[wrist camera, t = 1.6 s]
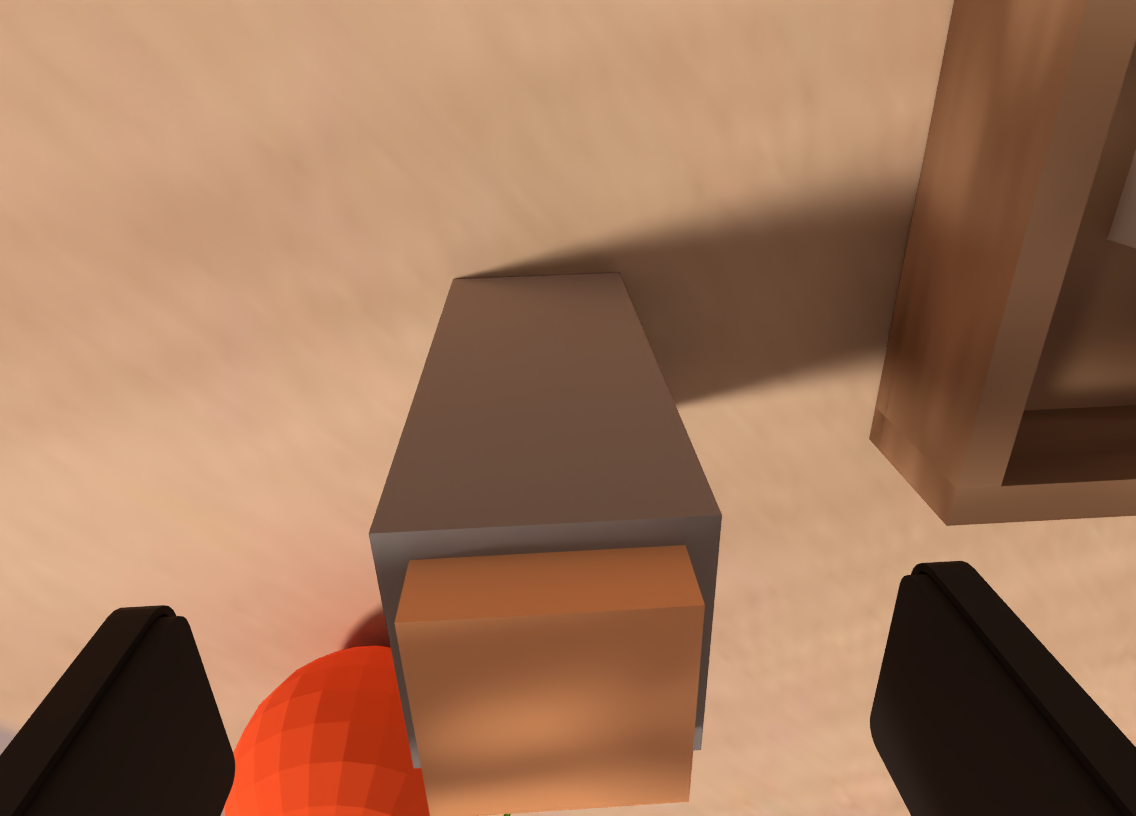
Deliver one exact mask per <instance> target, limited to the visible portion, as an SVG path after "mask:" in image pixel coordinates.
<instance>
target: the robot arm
mask: <svg viewBox="0 0 1136 816" xmlns="http://www.w3.org/2000/svg"><path fill="white" fill-rule="evenodd" d="M870 729H871V734H872V738H873V741H874V744H875V746H876V748H877V750H878V752H879V754H880V756H881V758H882V760H883V762H884V764H885V766H886V768H887V770H888V772H889V774H890V775H891V777H892V779H893V781H894V783H895V785H896V787H897V789H898V791H899V793H900V795H901V797H902V799H903V801H904V803H905V804H906V806H907V808H908V810H909V812H910V814H911V816H1136V747H1135V746H1134V745H1133V744H1132V743H1131V741H1130V740H1129V739H1128V738H1127V737H1126V736H1125V735H1124V734H1123V733H1122V731H1121V730H1120V729H1119V728H1118V727H1117V726H1116V725H1115V724H1114V723H1113V722H1112V720H1111V719H1110V718H1109V717H1108V716H1107V715H1106V714H1105V713H1104V712H1103V710H1102V709H1101V708H1100V707H1099V706H1098V705H1097V704H1096V703H1095V702H1094V701H1093V699H1092V698H1091V697H1090V696H1089V695H1088V694H1087V693H1086V692H1085V691H1084V689H1083V688H1082V687H1081V686H1080V685H1079V684H1078V683H1077V682H1076V681H1075V680H1074V678H1073V677H1072V676H1071V675H1070V674H1069V673H1068V672H1067V671H1066V670H1065V668H1064V667H1063V666H1062V665H1061V664H1060V663H1059V662H1058V661H1057V660H1056V659H1055V657H1054V656H1053V655H1052V654H1051V653H1050V652H1049V651H1048V650H1047V649H1046V647H1045V646H1044V645H1043V644H1042V643H1041V642H1040V641H1039V640H1038V639H1037V638H1036V636H1035V635H1034V634H1033V633H1032V632H1031V631H1030V630H1029V629H1028V628H1027V626H1026V625H1025V624H1024V623H1023V622H1022V621H1021V620H1020V619H1019V618H1018V617H1017V615H1016V614H1015V613H1014V612H1013V611H1012V610H1011V609H1010V608H1009V607H1008V605H1007V604H1006V603H1005V602H1004V601H1003V600H1002V599H1001V598H1000V597H999V596H998V594H997V593H996V592H995V591H994V590H993V589H992V588H991V587H990V586H989V584H988V583H987V582H986V581H985V580H984V579H983V578H982V577H981V576H980V575H979V573H978V572H977V571H976V570H975V569H974V568H973V567H972V566H971V565H969V564H968V563H966V562H963V561H951V562H933V563H921V564H917V565H916V566H915V567H914V568H913V571H912V573H911V575H906V576H904V577H903V578H902V580H901V582H900V586H899V590H898V595H897V599H896V604H895V608H894V613H893V617H892V622H891V626H890V630H889V635H888V639H887V644H886V648H885V653H884V657H883V662H882V666H881V671H880V675H879V680H878V684H877V689H876V693H875V698H874V702H873V707H872V711H871V715H870ZM234 777H235V758H234V754H233V751H232V748H231V746H230V743H229V740H228V737H227V734H226V731H225V728H224V725H223V722H222V719H221V716H220V713H219V710H218V707H217V704H216V701H215V699H214V696H213V693H212V690H211V687H210V684H209V681H208V678H207V675H206V672H205V669H204V666H203V663H202V660H201V657H200V654H199V652H198V649H197V646H196V643H195V640H194V637H193V634H192V631H191V628H190V625H189V623H188V621H187V619H186V618H184V617H182V616H176V614H175V612H174V610H173V609H172V608H170V607H169V606H164V605H163V606H145V607H127V608H119V609H117V610H115V611H113V612H112V613H111V614H110V615H109V616H108V617H107V619H106V620H105V621H104V623H103V624H102V625H101V626H100V628H99V629H98V630H97V632H96V633H95V634H94V636H93V637H92V638H91V639H90V641H89V642H88V643H87V645H86V646H85V647H84V648H83V650H82V651H81V652H80V654H79V655H78V656H77V657H76V659H75V660H74V661H73V663H72V664H71V665H70V666H69V668H68V669H67V670H66V672H65V673H64V674H63V675H62V677H61V678H60V679H59V681H58V682H57V683H56V684H55V686H54V687H53V688H52V690H51V691H50V692H49V693H48V695H47V696H46V697H45V699H44V700H43V701H42V702H41V704H40V705H39V706H38V708H37V709H36V710H35V711H34V713H33V714H32V715H31V717H30V718H29V719H28V720H27V722H26V723H25V724H24V726H23V727H22V728H21V729H20V731H19V732H18V733H17V735H16V736H15V737H14V739H13V740H12V741H11V743H10V744H9V745H8V746H7V748H6V749H5V750H4V752H3V753H2V754H1V755H0V816H220V815H221V813H222V810H223V808H224V806H225V803H226V801H227V798H228V796H229V794H230V791H231V788H232V785H233V782H234Z"/></svg>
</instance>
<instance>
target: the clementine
mask: <svg viewBox="0 0 1136 816" xmlns="http://www.w3.org/2000/svg"><path fill="white" fill-rule="evenodd" d="M233 754H234V758H235V777H234V782H233V785H232V788H231V791H230V794H229V796H228V798H227V801H226V803H225V806H224V809H225V816H430V813H429V807H428V802H427V797H426V791H425V786H424V780H423V775H422V769H421V768H414V767H413V762H412V756H411V751H410V746H409V741H408V736H407V730H406V725H405V720H404V715H403V710H402V704H401V699H400V694H399V689H398V683H397V678H396V673H395V668H394V663H393V657H392V652H391V647H384V646H361V647H353V648H349V649H345V650H341V651H338V652H334V653H332V654H329V655H326V656H324V657H321V658H319V659H317V660H315V661H313V662H311V663H309V664H307V665H305V666H303V667H302V668H300V669H298V670H296V671H295V672H294V673H293V674H292V675H291V676H290V677H288V678H287V679H286V680H285V681H284V682H283V683H282V684H281V685H280V686H279V687H277V688H276V689H275V690H274V691H273V692H272V693H271V694H270V695H269V696H268V697H267V698H266V699H265V700H264V701H263V702H262V703H261V704H260V705H259V707H258V708H257V710H256V712H255V713H254V715H253V717H252V718H251V720H250V722H249V723H248V725H247V727H246V728H245V730H244V732H243V734H242V736H241V738H240V740H239V742H238V744H237V746H236V748H235V750H234V752H233ZM504 816H510V814H504Z"/></svg>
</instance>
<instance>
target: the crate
mask: <svg viewBox="0 0 1136 816" xmlns="http://www.w3.org/2000/svg"><path fill="white" fill-rule="evenodd" d="M1135 151H1136V0H954V4H953V10H952V15H951V20H950V25H949V30H948V35H947V41H946V46H945V51H944V56H943V61H942V66H941V72H940V77H939V82H938V87H937V92H936V97H935V103H934V108H933V113H932V118H931V123H930V128H929V134H928V139H927V144H926V149H925V154H924V159H923V165H922V170H921V175H920V180H919V185H918V190H917V196H916V201H915V206H914V211H913V216H912V221H911V227H910V232H909V237H908V242H907V247H906V252H905V258H904V263H903V268H902V273H901V278H900V283H899V289H898V294H897V299H896V304H895V309H894V314H893V320H892V325H891V330H890V335H889V340H888V345H887V351H886V356H885V361H884V366H883V371H882V376H881V382H880V387H879V392H878V397H877V402H876V407H875V413H874V418H873V423H872V428H871V433H870V438H869V439H870V440H871V441H872V443H873V444H874V445H875V446H876V447H877V448H878V449H879V450H880V452H881V453H882V454H883V455H884V456H885V457H886V458H887V459H888V461H889V462H890V463H891V464H892V465H893V466H894V467H895V468H896V470H897V471H898V472H899V473H900V474H901V475H902V476H903V477H904V478H905V480H906V481H907V482H908V483H909V484H910V485H911V486H912V487H913V489H914V490H915V491H916V492H917V493H918V494H919V495H920V496H921V498H922V499H923V500H924V501H925V502H926V503H927V504H928V505H929V507H930V508H931V509H932V510H933V511H934V512H935V513H936V514H937V515H938V517H939V518H940V519H941V520H942V521H943V522H944V523H945V524H946V526H950V525H969V524H987V523H1006V522H1024V521H1043V520H1061V519H1080V518H1098V517H1117V516H1135V515H1136V248H1133V247H1129V246H1126V245H1123V244H1120V243H1117V242H1114V241H1110V240H1107V238H1108V235H1109V232H1110V229H1111V226H1112V222H1113V219H1114V216H1115V213H1116V210H1117V207H1118V204H1119V201H1120V198H1121V194H1122V191H1123V188H1124V185H1125V182H1126V179H1127V176H1128V173H1129V170H1130V167H1131V163H1132V160H1133V157H1134V154H1135Z"/></svg>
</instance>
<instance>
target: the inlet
mask: <svg viewBox="0 0 1136 816" xmlns="http://www.w3.org/2000/svg"><path fill="white" fill-rule="evenodd" d="M1107 240H1110V241H1114V242H1117V243H1120V244H1123V245H1126V246H1129V247H1133V248H1136V151H1135V154H1134V157H1133V160H1132V163H1131V167H1130V170H1129V173H1128V176H1127V179H1126V182H1125V185H1124V188H1123V191H1122V194H1121V198H1120V201H1119V204H1118V207H1117V210H1116V213H1115V216H1114V219H1113V222H1112V226H1111V229H1110V232H1109V235H1108V238H1107Z"/></svg>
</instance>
